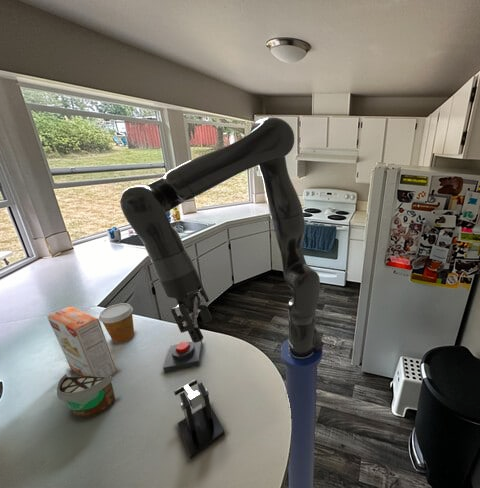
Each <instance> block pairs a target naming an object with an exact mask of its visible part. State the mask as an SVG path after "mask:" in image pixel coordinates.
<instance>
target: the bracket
mask: <svg viewBox="0 0 480 488" xmlns="http://www.w3.org/2000/svg"><path fill="white" fill-rule="evenodd" d="M197 389H198V392H199V393H200V395H201V399H202V402H203V403H202V404H201V408H199V409H198V410H196V411H194V412H192V407H191V405H190V403H189V399H188V396H187V395H186V392H185V391H183V392H181V393H179V399H180V402H181V403H180V408H181V411H183V414H184V418H183V419H181V420H180V421H178V422H177V426H178V430H179V431H180V434H181V436H182V437H181V438H182V439H183V442H184V445H185V448H186V449H187V452H188V455H189V458H190V459H191V460H192V459H193V458H194V457H196V456H197V455H198V454H200V453H201V452H203V451H204V450H205V449H207V448H208V447H209V446H211V445H213V443H215V442H216V441H218V440H219V439H221V438H222V437H223V436H225V435H226V431H225V429H224V427H223V425H222V424H221V422H220V420H219V418H218V416H217V414H216V412H215V411H214V409H213V407H212V405H211V402H210V392H209V390H208V389H207V388H206V387H205V385H204V383H203V382H202V381H201V382H198V383H197Z"/></svg>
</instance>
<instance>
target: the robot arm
mask: <svg viewBox="0 0 480 488" xmlns="http://www.w3.org/2000/svg"><path fill="white" fill-rule="evenodd" d="M294 145H295V133H294V130H293V127H292V126H291V125H290V123H288V122H287V121H286V120H283V119H282V118H279V117H275V116H271V117H266V118H261V119H259V120H257V121H255V122H254V123H253V124H252V125H251V128H250V131H249V133H248V134H246V135H245V136H243V137H241V138H240V139H238V140H236V141H235V142H233V143H231V144H228V145H226V146H224V147H221V148H219V149H215V150H213V151H211V152H207V153H204V154H203V155H200V156H197V157H195V158H193V159H191V160H188V161H186V162H184V163H182V164H180V165H178V166H177V167H174V168H172V169H171V170H169V171H167V172H166V173H165V175H164V176H163V177H161V178H159V179H157V180H154V181H153V182H150V183H149V184H146V185H135V186H130V187H128V188H127V189H125V190H124V191H123V192H122V193H121V195H120V199H119V205H120V209H121V211H122V214H123V215H124V217H125V219H126V221H127V222H128V224H129V226H130V227H131V228H132V229H133V231H134V233H135V234H136V235H137V236H138V238H139V239H140V240H141V242H142V243H143V246H144V248H145V251H146V252H147V254H148V257H149V259H150V261H151V264H152V266H153V270H154V272H155V275H156V277H157V279H158V281H159V283H160V284H161V286H162V289H163V291H164V293H165V295H166V297H167V298H170V299H175V300H176V304H177V306H174V307H171V309H170V310H171V311H170V312H171V314H172V316H173V319H174V320H175V323H176V325H177V328H178V330H179V331H180V333H181V334H183V333H186V332H188V335H189V337H190V338H191V342H192V341H193V342H194V343H196V342H199V341H202V342H203V340H204V335H203V333H202V331H201V328H200V326H199V325H198V319H197V318H198V317H199V316H200V318H201V321H202V323H203V324H206V323H210V322H212V321H213V317H212V314H211V312H210V310H209V308H208V307H209V304H208V303H209V302H210V299H209V296H208V295H207V292H206V291H205V287H204V285H203V284H202V280H201V278H200V275H199V273H198V271H197V269H196V267H195V264H194V262H193V260H192V258H191V256H190V254H189V252H188V251H187V249H186V247H185V245H184V242H183V240H182V237H181V236H180V233H179V232H178V230H177V229H176V228H175V227H174V226H173V225H172V224H171V222H170V219H169V217H168V215H167V213H168V212H170V211H171V210H173V209H174V208H177V207H178V206H180V205H181V204H183V203H184V202H187V201H190V200H192V199H194V198H196V197H198V196H200V195H202V194H204V193H206V192H207V191H209V190H211V189H213V188H215V187H217V186H218V185H220V184H222V183H224V182H226V181H228V180H229V179H231V178H233V177H235V176H237V175H239V174H241V173H242V172H246V171H247V170H250V169H252V168H255V167H258V168H259V171H260V175H261V178H262V181H263V187H264V192H265V198H266V203H267V207H268V212H269V217H270V220H271V221H270V222H271V225H272V228H273V232H274V235H275V238H276V243H277V246H278V249H279V252H280V257H281V264H282V272H283V279H284V281H285V284H286V285H287V287H289V289H290V290H291V291H292V294H293V297H292V298H291V299H290V300H289V301H288V305H287V309H288V310H287V311H288V339H289V340H288V339H287V340H288V342H289V353H290V355H291V356H292V357H294V358H296V359H306V358H309V357H310V356H312V355H313V354H314V353H316V350H319V349H323V347H324V341H323V340H322V338H321V336H320V334H318V330H317V328H316V317H317V315H316V314H317V306H318V304H319V301H320V300H319V299H320V291H321V290H320V287H321V280H320V279H321V278H320V276H319V273H318V272H317V271H316V270H314V269H313V268H311V266H309V265H308V264H307V262H306V259H305V255H304V251H303V241H304V237H305V231H306V221H305V216H304V211H303V206H302V203H301V200H300V198H299V194H298V193H297V190H296V188H295V186H294V184H293V181H292V179H291V176H290V174H289V171H288V165H287V158H286V156H288V154H290V152H291V151H292V150H293V148H294Z"/></svg>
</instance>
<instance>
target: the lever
mask: <svg viewBox="0 0 480 488" xmlns="http://www.w3.org/2000/svg"><path fill="white" fill-rule="evenodd" d="M196 385H198V380H197V379H193V380H191V381H190V382H188V383H186V384H184V385H182V386H180V387H179V388H177V389H175V390H174V391H173V393H174V396H178V395H180V394H181V393H183V392H185V394H187V395H186V396H187V399H188V401H189V403H190V406H191V409H192V410H195V408H198V407H199V406H200V405H201V404H202V403H203V402H202V399H201V395H200V393H199V390H195V391H194V390H193V389H192V387H194V386H196ZM201 406H202V405H201Z"/></svg>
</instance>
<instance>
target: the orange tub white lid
mask: <svg viewBox="0 0 480 488" xmlns="http://www.w3.org/2000/svg"><path fill="white" fill-rule="evenodd" d="M133 312H134V308H133V306H131V305H130V304H129V303H124V302H122V303H116V304H113V305H109V306H108V307H105V308H104V309H103V310H101V312H100V313H99V316H98V319H99V321H100V323H102V324H103V326H104V328H105V329H106V331H107V334H108V335H109V337H110V339H111V340H112V342H113V343H114V344H121V343H126V342H127V341H130V340H131V339H132V338H133V337H134V336H135V327H134V318H133V317H134V316H133Z"/></svg>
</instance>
